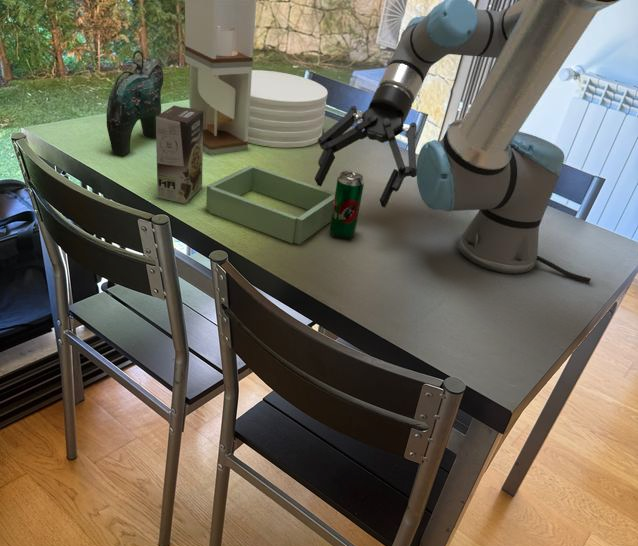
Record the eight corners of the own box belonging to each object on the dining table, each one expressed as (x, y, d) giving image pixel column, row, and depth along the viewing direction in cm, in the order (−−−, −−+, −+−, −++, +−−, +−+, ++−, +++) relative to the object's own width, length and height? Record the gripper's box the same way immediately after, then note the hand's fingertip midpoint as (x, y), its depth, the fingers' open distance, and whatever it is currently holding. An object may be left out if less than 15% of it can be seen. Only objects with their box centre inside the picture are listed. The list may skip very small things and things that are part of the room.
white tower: (185, 138, 149) (185, -26, 127) (221, 134, 155) (227, -24, 134) (210, 155, 142) (214, -16, 121) (247, 149, 148) (257, -14, 127)
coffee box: (187, 204, 120) (187, 122, 110) (156, 198, 120) (153, 115, 110) (203, 188, 127) (204, 110, 117) (174, 182, 127) (173, 103, 118)
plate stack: (320, 153, 153) (327, 107, 146) (210, 138, 151) (211, 90, 144) (322, 120, 175) (328, 79, 168) (226, 107, 173) (228, 64, 166)
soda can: (359, 235, 119) (370, 177, 112) (342, 242, 116) (353, 183, 108) (340, 225, 121) (350, 168, 114) (323, 231, 118) (332, 173, 111)
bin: (336, 217, 124) (340, 194, 121) (297, 245, 112) (300, 221, 109) (249, 186, 131) (251, 164, 128) (204, 210, 119) (204, 186, 116)
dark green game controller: (147, 129, 150) (144, 42, 138) (171, 135, 149) (170, 48, 137) (103, 153, 134) (95, 57, 122) (129, 160, 133) (124, 63, 121)
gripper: (456, 124, 115) (412, 221, 113) (341, 92, 122) (297, 183, 120) (456, 100, 108) (408, 204, 106) (333, 68, 115) (286, 164, 113)
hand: (349, 193), depth 113 cm, fingers open, 13 cm apart
